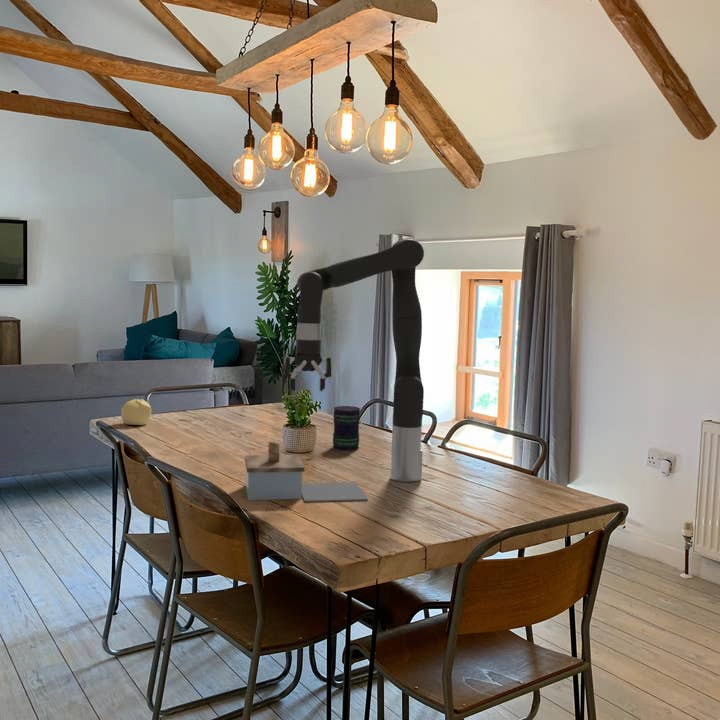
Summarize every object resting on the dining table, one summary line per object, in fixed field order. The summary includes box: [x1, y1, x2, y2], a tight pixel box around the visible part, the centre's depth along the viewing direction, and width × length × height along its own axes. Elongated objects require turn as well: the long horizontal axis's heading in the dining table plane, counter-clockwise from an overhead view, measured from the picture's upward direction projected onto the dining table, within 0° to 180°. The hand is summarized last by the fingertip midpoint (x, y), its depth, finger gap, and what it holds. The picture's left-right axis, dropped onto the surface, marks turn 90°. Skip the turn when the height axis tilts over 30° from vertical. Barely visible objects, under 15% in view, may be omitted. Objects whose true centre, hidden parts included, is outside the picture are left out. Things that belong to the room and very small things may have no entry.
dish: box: [244, 468, 303, 501], centre depth 224 cm, size 15×15×8 cm
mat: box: [301, 481, 369, 503], centre depth 226 cm, size 18×18×1 cm
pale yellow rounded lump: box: [120, 398, 153, 426], centre depth 317 cm, size 12×12×11 cm
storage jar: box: [332, 405, 361, 452], centre depth 286 cm, size 10×10×15 cm
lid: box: [244, 440, 306, 473], centre depth 223 cm, size 16×16×7 cm
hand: (307, 390), depth 236 cm, fingers open, 8 cm apart
